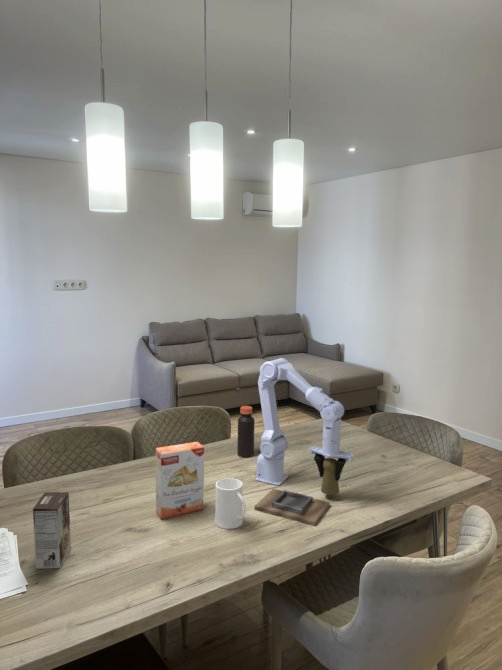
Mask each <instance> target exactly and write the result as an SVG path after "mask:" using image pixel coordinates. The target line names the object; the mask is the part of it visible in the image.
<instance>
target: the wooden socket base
mask: <svg viewBox="0 0 502 670" xmlns="http://www.w3.org/2000/svg"><path fill="white" fill-rule="evenodd" d="M329 507H330V501H325V500H321V499H318V498H314V497H313V496H310V495H306V494H302V493H298V492H294V491H290V490H285V489H284V490H280V489H276V488H272V489H270V491H269V492H268V493H266V495H265V496H264V497H262V498H261V500H259V501H258V502H257V503H256V504H255V505H254V511H258V512H262V513H266V514H268V515H269V514H270V515H273V516H276V517H280V518H283V519H288V520H291V521H295V522H299V523H302V524H306V525H310V526H313V527H315V526H316V524H317V523H318V522H319V520H320V519H321V518H322V516H323V515H324V513H326V511H327V510H328V508H329Z"/></svg>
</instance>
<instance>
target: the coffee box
mask: <svg viewBox="0 0 502 670" xmlns="http://www.w3.org/2000/svg"><path fill="white" fill-rule="evenodd" d="M69 495H70V494H69V491H65V492H64V491H63V492H62V491H46V492H44V493H43V494H42V495H41V497H40V498H39V500H38V501H37V502H36V504H35V505H34V507H33V508H32V512H33V513H32V515H33V518H32V519H33V534H34V535H33V537H34V538H33V539H34V555H35V557H34V559H35V569H38V570H39V569H41V570H42V569H43V570H44V569H60V568H61V569H62V566H63V564H64V562H65V560H66V559H67V556H68V554H69V552H70V550H71V548H72V546H71V542H72V541H71V519H70V518H71V517H70V516H71V515H70V498H69Z"/></svg>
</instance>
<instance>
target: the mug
mask: <svg viewBox="0 0 502 670" xmlns="http://www.w3.org/2000/svg"><path fill="white" fill-rule="evenodd" d="M243 489H244V488H243V482H242V481H241V480H240V479H237V478H233V477H226V478H221V479H219V480H217V481H216V482H215V500H214V501H215V503H214V504H215V505H214V506H215V508H214V509H215V511H214V512H215V515H214V525H215V526H217V528H220V529H224V530H233V529H237V528H239V527H241V526H242V525H243V524H244V519H243V518H244V517H245V515H246V511H247V508H246V506H247V505H246V502H245V499H244V498H243Z"/></svg>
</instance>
